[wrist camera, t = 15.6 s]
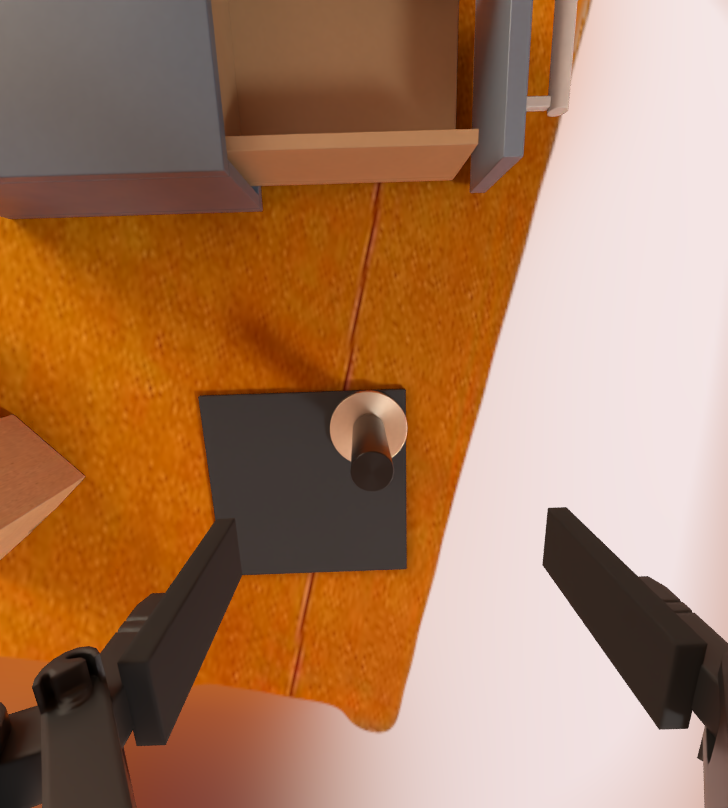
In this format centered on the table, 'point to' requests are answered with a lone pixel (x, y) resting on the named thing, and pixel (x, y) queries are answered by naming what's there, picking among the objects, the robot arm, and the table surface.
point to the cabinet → (113, 111)
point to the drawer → (378, 88)
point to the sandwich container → (29, 481)
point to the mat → (299, 486)
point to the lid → (369, 436)
